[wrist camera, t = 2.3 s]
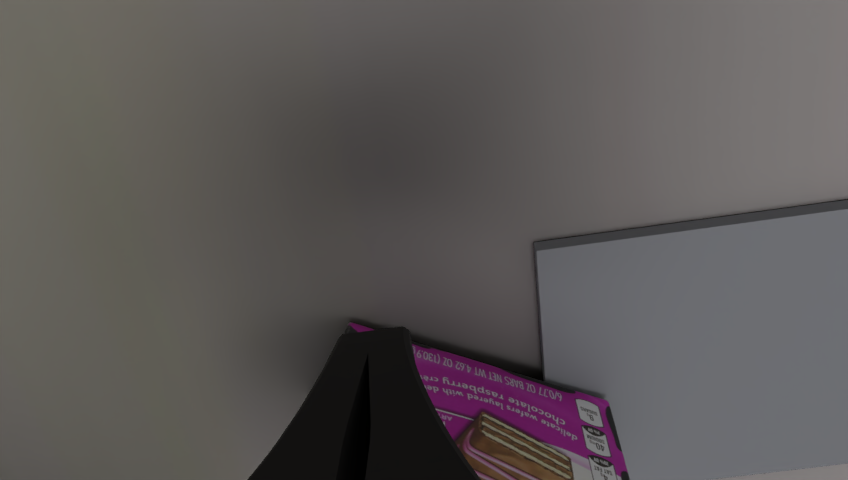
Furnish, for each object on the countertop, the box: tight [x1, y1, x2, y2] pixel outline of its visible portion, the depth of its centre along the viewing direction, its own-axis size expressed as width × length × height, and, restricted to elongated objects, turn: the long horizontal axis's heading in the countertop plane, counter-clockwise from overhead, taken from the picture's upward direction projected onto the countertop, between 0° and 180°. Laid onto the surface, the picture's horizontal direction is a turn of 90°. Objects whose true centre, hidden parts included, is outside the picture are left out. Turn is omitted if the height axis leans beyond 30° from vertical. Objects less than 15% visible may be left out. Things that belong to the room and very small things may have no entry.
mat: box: [534, 200, 848, 480], centre depth 27 cm, size 15×13×1 cm
